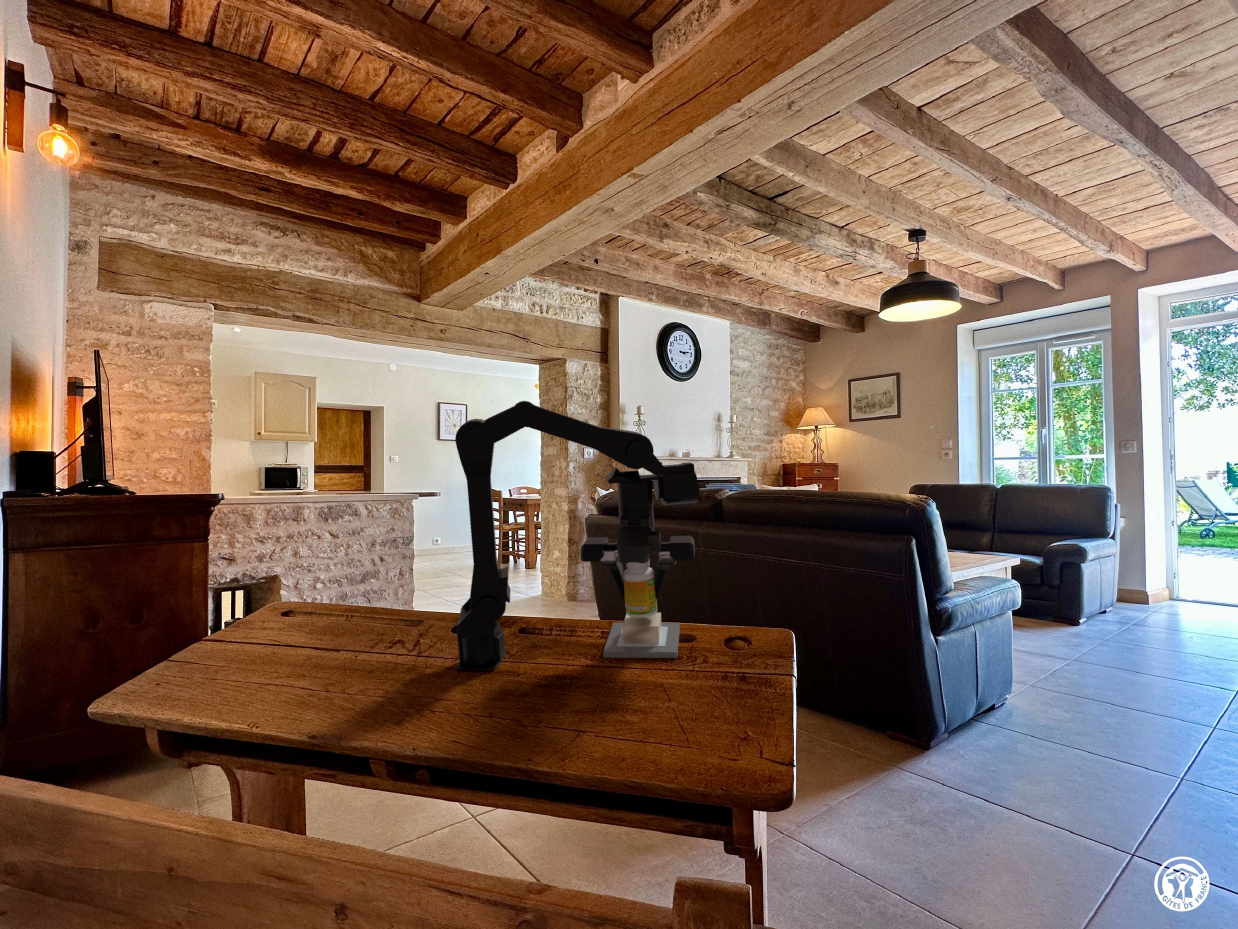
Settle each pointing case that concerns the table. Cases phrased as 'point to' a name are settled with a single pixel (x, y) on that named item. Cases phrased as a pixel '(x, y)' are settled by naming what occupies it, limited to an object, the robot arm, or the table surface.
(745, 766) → the table surface
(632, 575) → the supplement bottle
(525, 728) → the table surface
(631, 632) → the birch block
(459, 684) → the table surface
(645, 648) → the baseplate
